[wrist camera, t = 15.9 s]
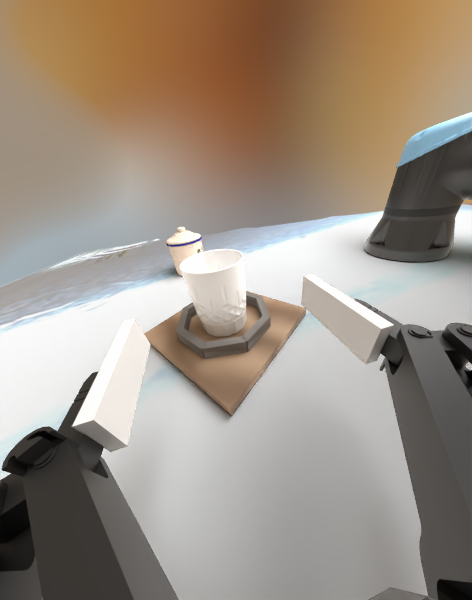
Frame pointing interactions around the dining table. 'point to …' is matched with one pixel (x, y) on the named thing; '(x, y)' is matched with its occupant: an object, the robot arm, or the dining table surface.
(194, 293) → the white cup
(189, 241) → the teacup with lid
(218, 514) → the dining table surface
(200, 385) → the ring holder
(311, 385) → the dining table surface
